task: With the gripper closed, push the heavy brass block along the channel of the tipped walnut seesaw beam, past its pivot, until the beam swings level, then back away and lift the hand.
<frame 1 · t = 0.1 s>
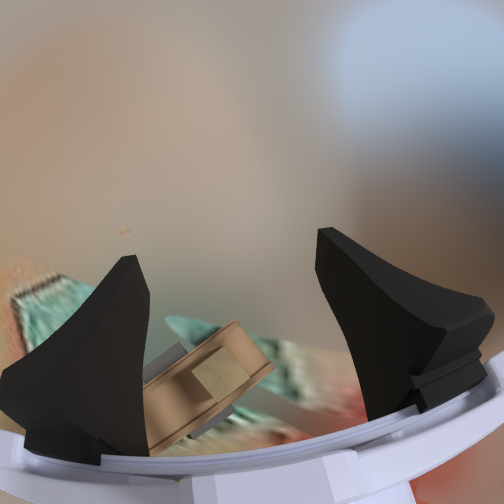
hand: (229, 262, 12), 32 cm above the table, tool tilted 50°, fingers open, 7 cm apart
brass block: (219, 371, 37), point 4 cm above the table, tilted 6°, touching beam
pivot stand: (186, 392, 39), on the table
beam: (182, 398, 35), point 4 cm above the table, hinge at 6.4°, touching brass block
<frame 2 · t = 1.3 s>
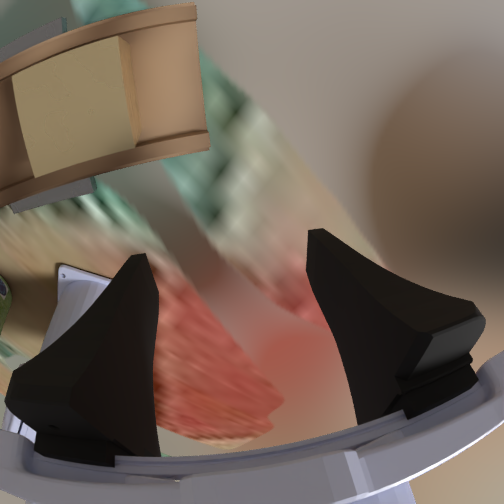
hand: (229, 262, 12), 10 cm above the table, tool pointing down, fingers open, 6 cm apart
brass block: (91, 99, 12), point 4 cm above the table, tilted 7°, touching beam
pivot stand: (31, 120, 15), on the table
beam: (1, 134, 12), point 4 cm above the table, hinge at 6.6°, touching brass block
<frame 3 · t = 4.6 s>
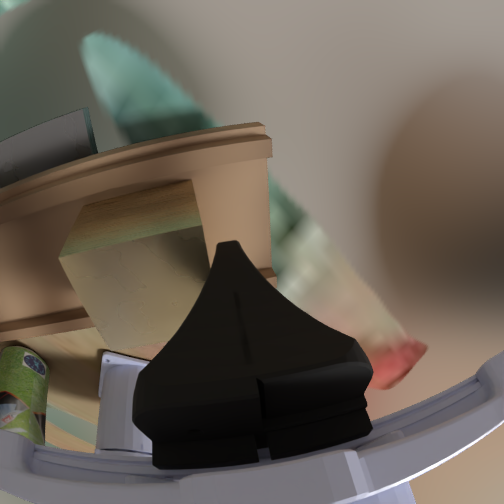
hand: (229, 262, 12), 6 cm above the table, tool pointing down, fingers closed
brass block: (148, 240, 13), point 4 cm above the table, tilted 6°, touching beam, gripper
pivot stand: (60, 224, 16), on the table
beam: (35, 264, 12), point 4 cm above the table, hinge at 6.6°, touching brass block
beverage can: (31, 355, 23), on the table
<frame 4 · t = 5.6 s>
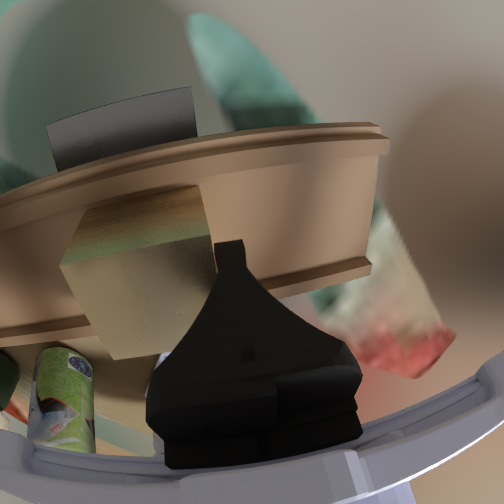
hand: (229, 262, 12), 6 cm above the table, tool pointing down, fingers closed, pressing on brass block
brass block: (153, 246, 13), point 4 cm above the table, touching beam, gripper
pivot stand: (140, 210, 16), on the table
beam: (127, 250, 13), point 4 cm above the table, hinge at 5.1°, touching brass block
beverage can: (72, 357, 23), on the table
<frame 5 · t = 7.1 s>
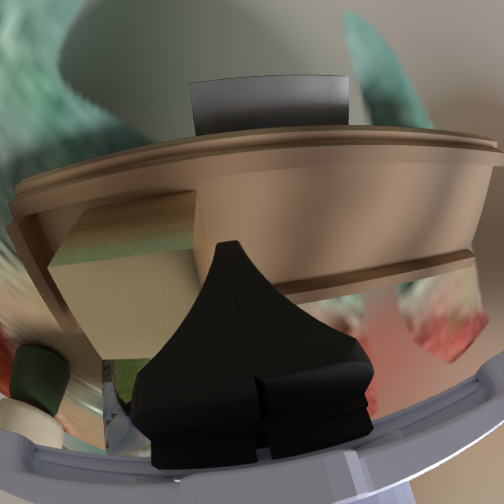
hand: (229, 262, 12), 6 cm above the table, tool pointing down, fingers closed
brass block: (150, 249, 13), point 4 cm above the table, touching gripper
pivot stand: (275, 188, 17), on the table
beam: (294, 224, 14), point 4 cm above the table, hinge at -0.7°
character mug: (45, 356, 23), on the table
beverage can: (144, 351, 24), on the table
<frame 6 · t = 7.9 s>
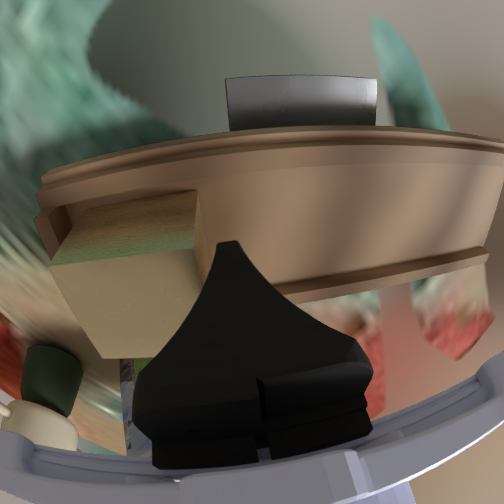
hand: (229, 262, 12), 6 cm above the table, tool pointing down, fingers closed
brass block: (151, 249, 13), point 4 cm above the table, touching beam, gripper
pivot stand: (304, 185, 17), on the table
beam: (329, 219, 14), point 4 cm above the table, hinge at -0.8°, touching brass block
character mug: (56, 356, 23), on the table
beverage can: (162, 350, 24), on the table
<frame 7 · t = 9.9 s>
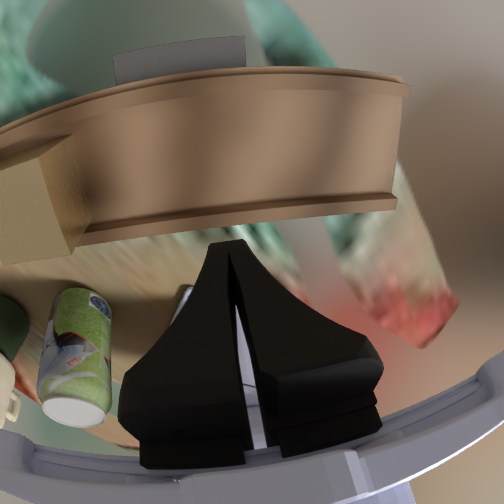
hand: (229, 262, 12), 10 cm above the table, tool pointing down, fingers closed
brass block: (48, 184, 14), point 4 cm above the table, touching beam
pivot stand: (187, 137, 18), on the table
beam: (183, 154, 15), point 4 cm above the table, hinge at -0.7°, touching brass block
character mug: (10, 309, 24), on the table
beverage can: (91, 302, 25), on the table
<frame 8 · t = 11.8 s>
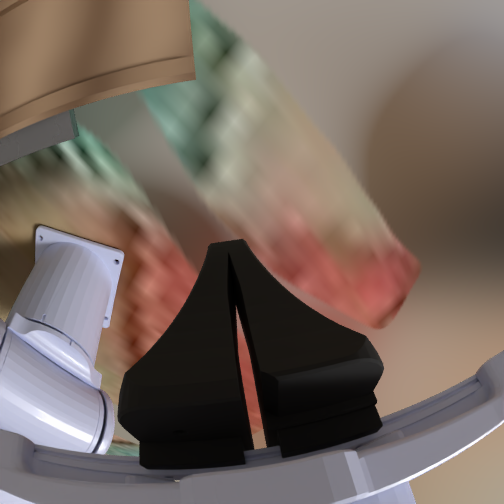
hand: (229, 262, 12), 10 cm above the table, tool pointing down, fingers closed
pivot stand: (18, 69, 12), on the table
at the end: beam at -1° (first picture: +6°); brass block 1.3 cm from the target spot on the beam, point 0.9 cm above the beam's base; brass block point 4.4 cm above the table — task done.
